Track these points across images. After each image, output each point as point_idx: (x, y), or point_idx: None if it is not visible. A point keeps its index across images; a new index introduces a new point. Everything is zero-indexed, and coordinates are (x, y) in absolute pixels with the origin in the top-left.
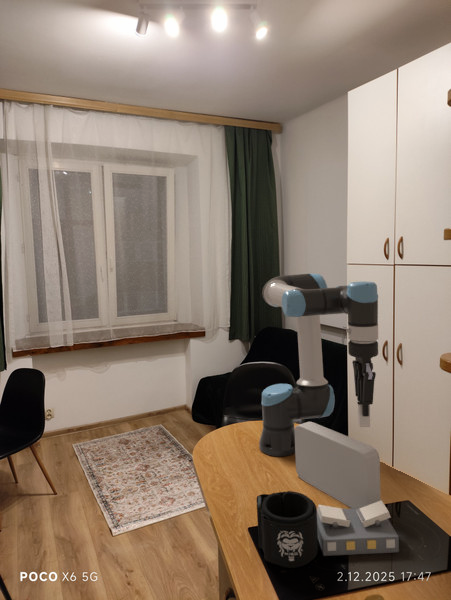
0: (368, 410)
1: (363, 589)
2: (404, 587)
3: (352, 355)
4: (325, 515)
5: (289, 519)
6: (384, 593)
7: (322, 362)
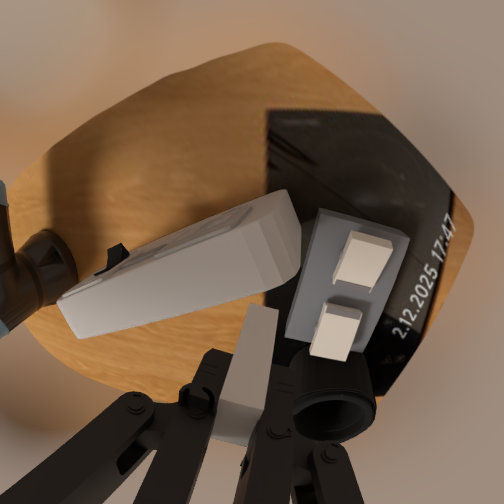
0: (293, 399)
1: (429, 316)
2: (451, 267)
3: None
4: (343, 355)
5: (366, 427)
6: (445, 296)
7: None
